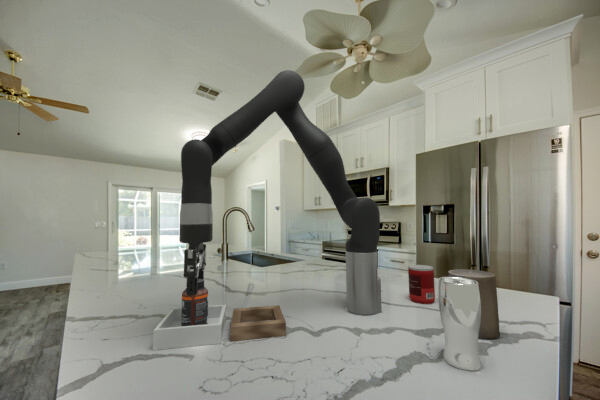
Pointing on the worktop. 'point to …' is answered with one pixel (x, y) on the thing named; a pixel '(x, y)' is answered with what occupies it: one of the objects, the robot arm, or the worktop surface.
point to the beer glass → (460, 321)
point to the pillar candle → (484, 300)
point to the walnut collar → (257, 323)
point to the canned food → (421, 284)
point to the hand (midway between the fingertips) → (195, 290)
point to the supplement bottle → (195, 306)
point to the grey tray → (189, 330)
